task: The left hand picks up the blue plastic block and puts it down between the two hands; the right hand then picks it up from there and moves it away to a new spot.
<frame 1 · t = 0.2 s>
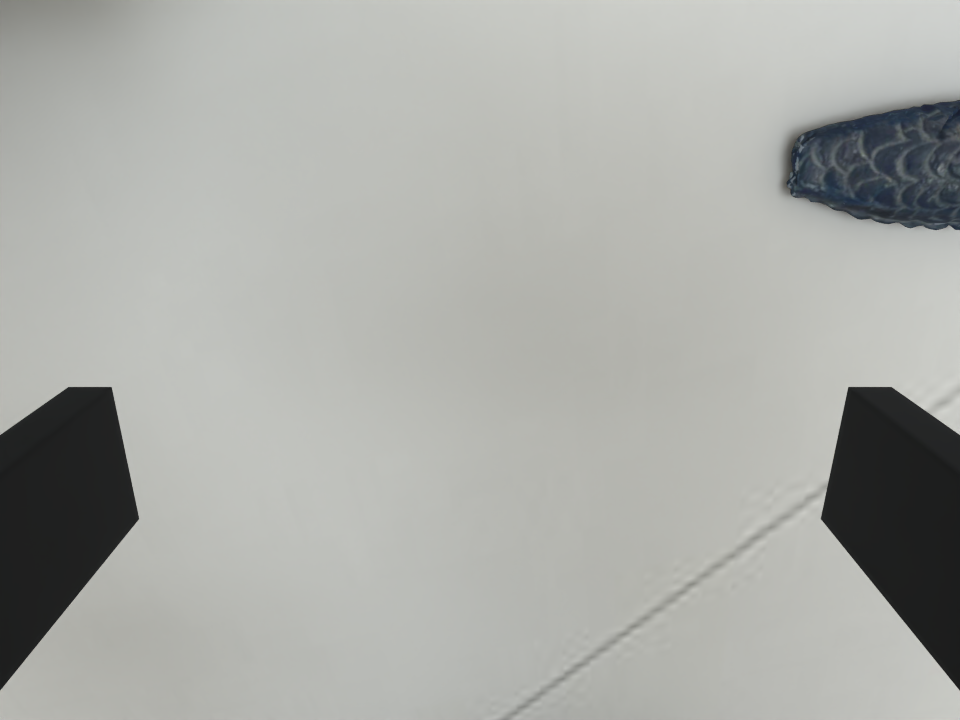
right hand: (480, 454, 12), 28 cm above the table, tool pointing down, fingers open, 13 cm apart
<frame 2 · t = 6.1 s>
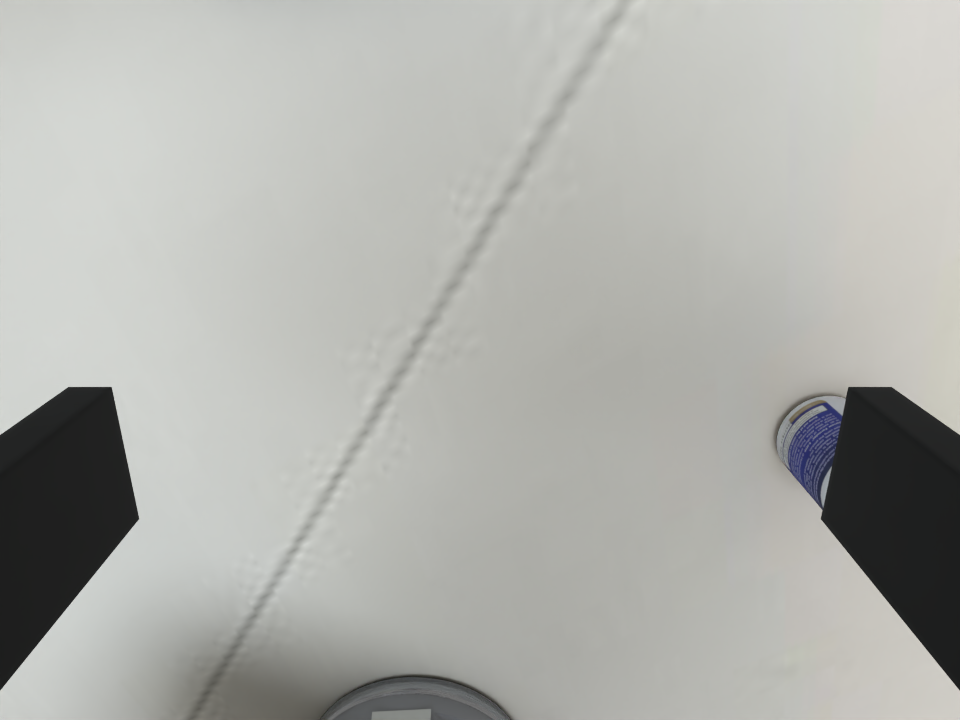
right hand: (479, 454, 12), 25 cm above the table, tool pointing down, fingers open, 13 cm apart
pill bottle: (818, 433, 40), on the table
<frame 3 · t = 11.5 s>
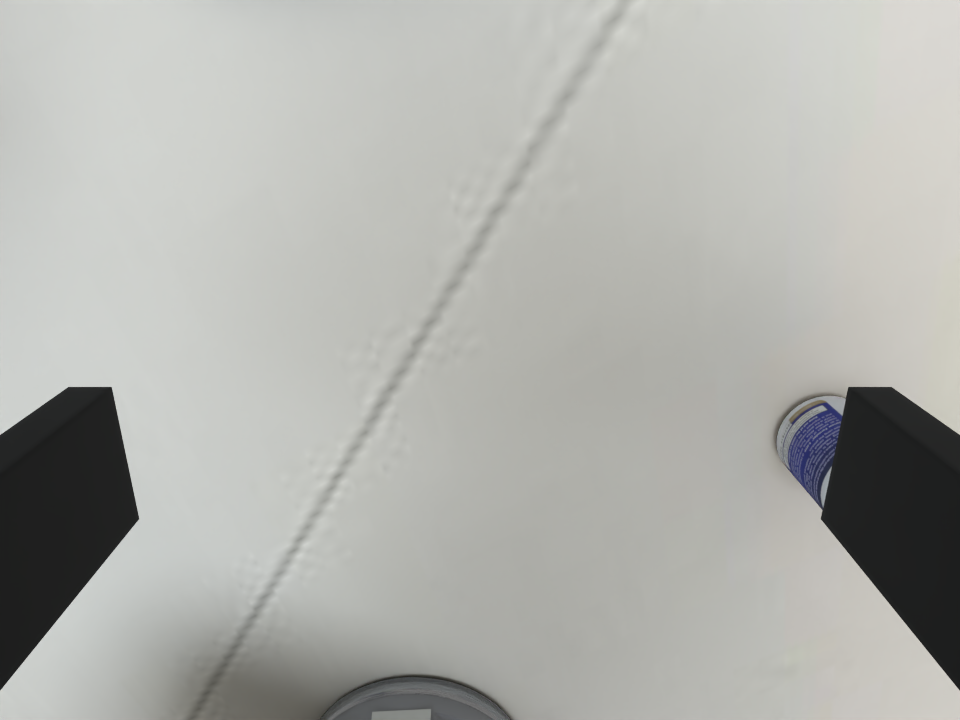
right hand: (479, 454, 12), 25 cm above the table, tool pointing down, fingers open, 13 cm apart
pill bottle: (818, 433, 40), on the table
when the left hand's fingers open (4 cm above the table, at t = 17.2 s): block drops 1 cm, on the table.
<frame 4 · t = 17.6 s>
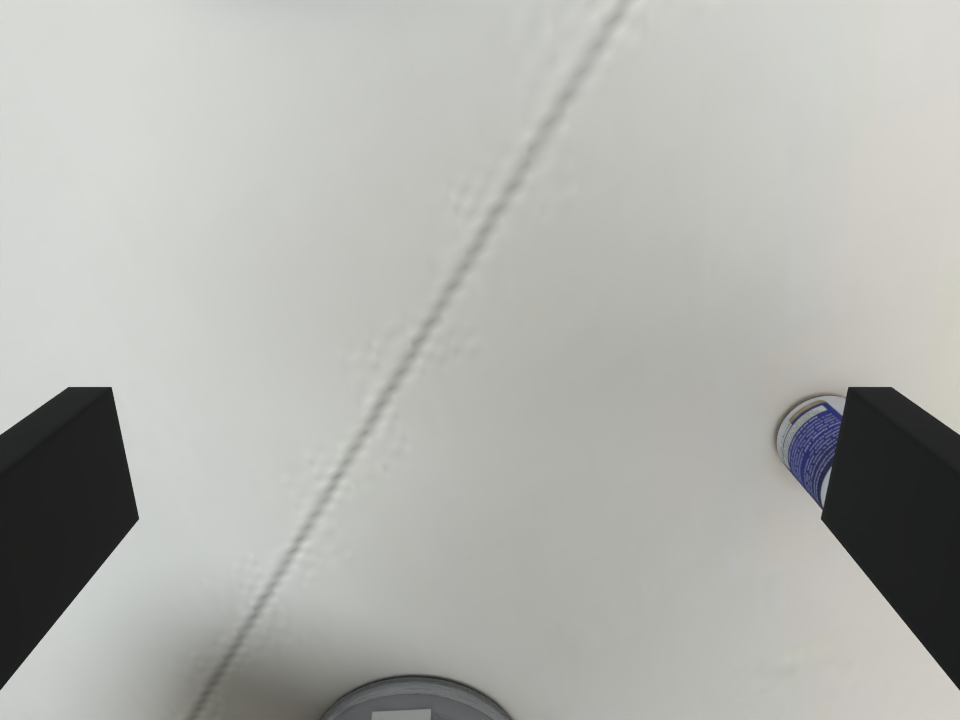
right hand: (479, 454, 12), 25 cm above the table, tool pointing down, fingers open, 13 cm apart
pill bottle: (818, 433, 40), on the table
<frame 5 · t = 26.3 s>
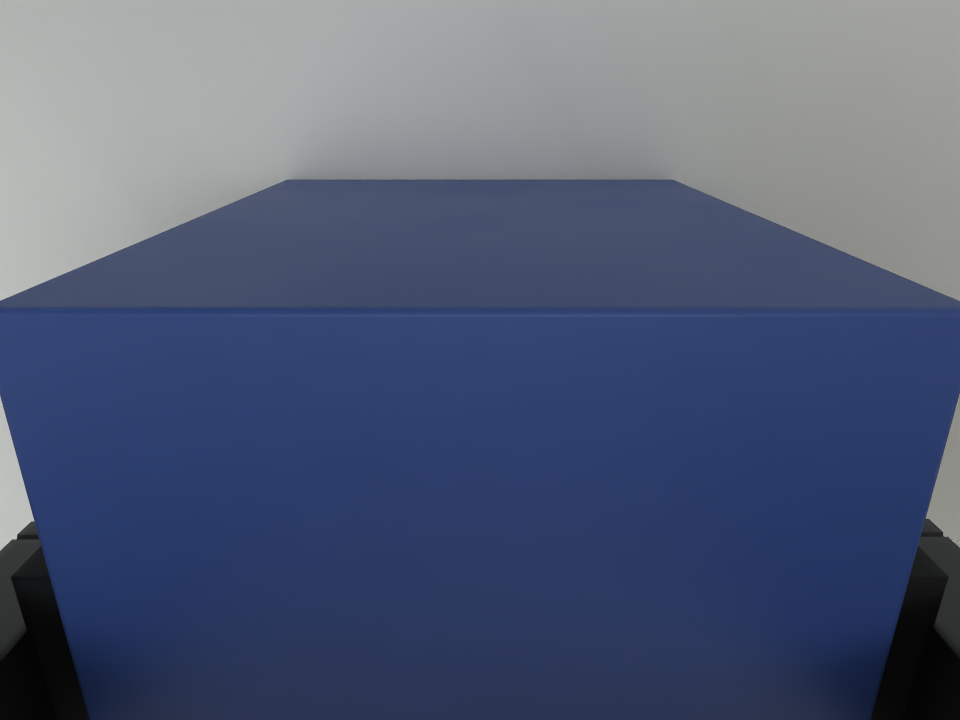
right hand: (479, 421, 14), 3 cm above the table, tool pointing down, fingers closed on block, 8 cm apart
block: (479, 370, 16), on the table, touching right hand
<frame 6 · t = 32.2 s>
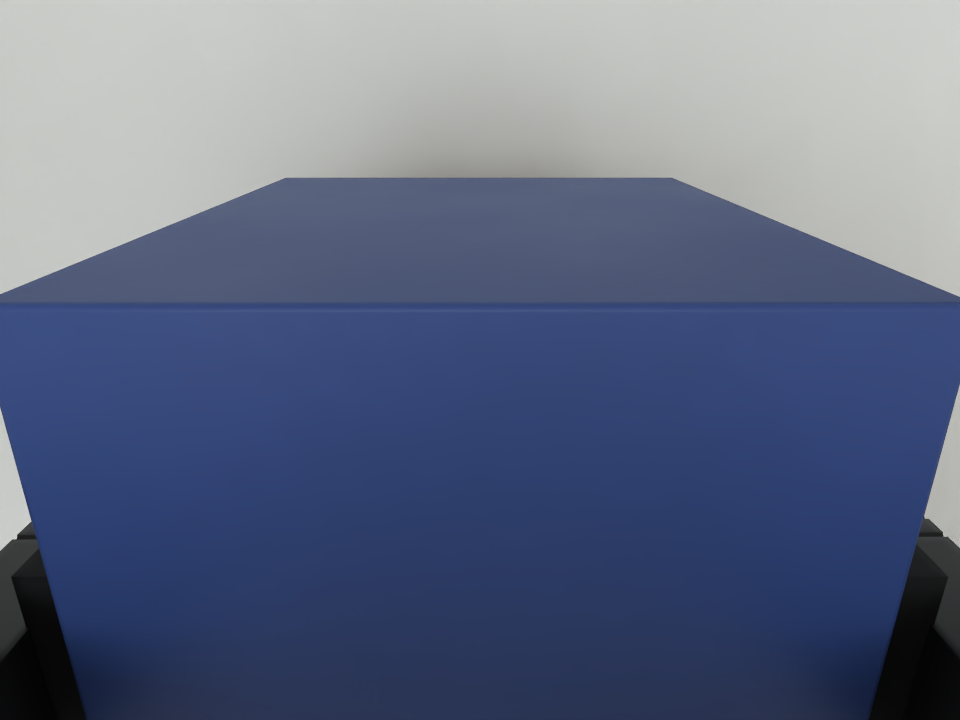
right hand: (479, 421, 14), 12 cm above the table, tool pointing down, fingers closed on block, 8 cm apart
block: (478, 368, 16), point 9 cm above the table, touching right hand
when the right hand's fingers open (4 cm above the table, at t = 38.6 s): block drops 1 cm, on the table.
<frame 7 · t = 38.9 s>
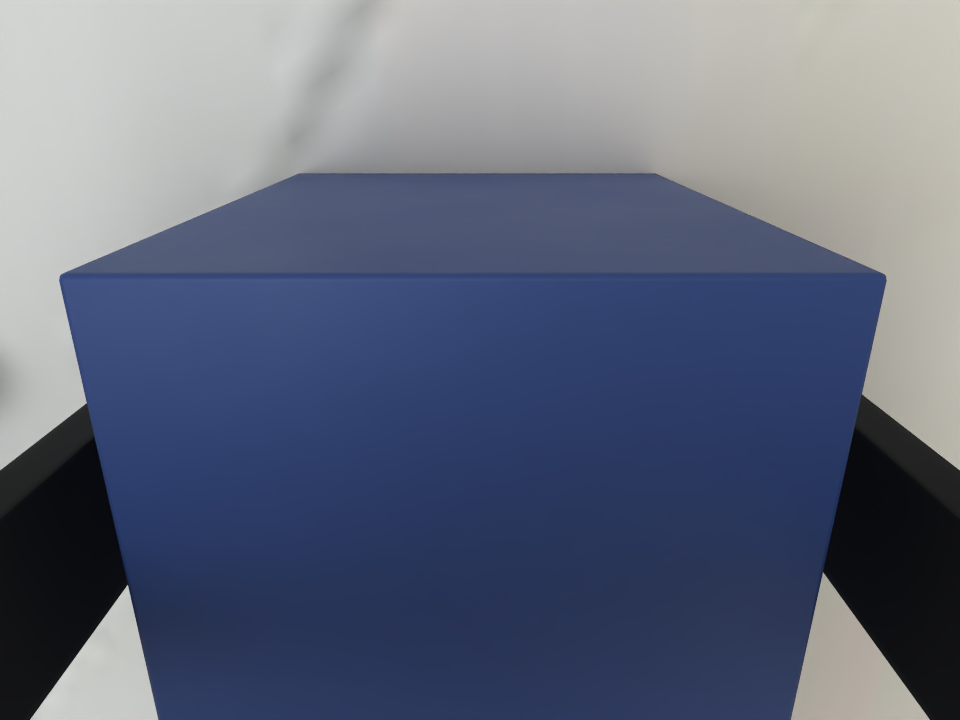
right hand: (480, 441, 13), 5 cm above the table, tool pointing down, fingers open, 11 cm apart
block: (477, 351, 18), on the table
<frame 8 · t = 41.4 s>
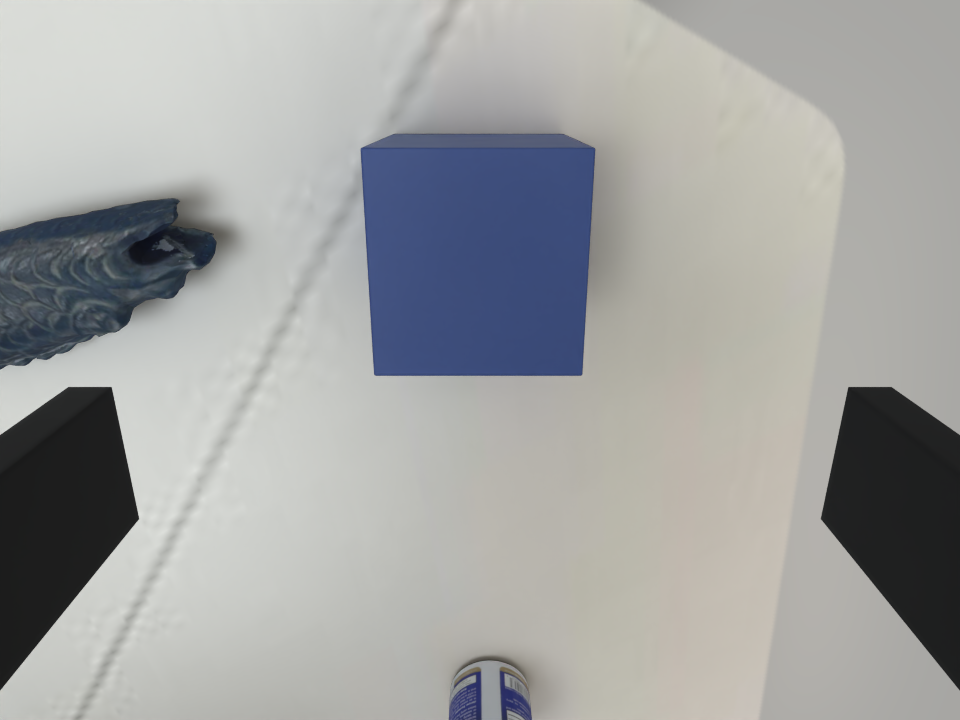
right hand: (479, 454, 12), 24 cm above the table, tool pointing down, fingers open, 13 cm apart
block: (478, 224, 35), on the table
fish model: (42, 281, 36), on the table
pill bottle: (489, 685, 46), on the table
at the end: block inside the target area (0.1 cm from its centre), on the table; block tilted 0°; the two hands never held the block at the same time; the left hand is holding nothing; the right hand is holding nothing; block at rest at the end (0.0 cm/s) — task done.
